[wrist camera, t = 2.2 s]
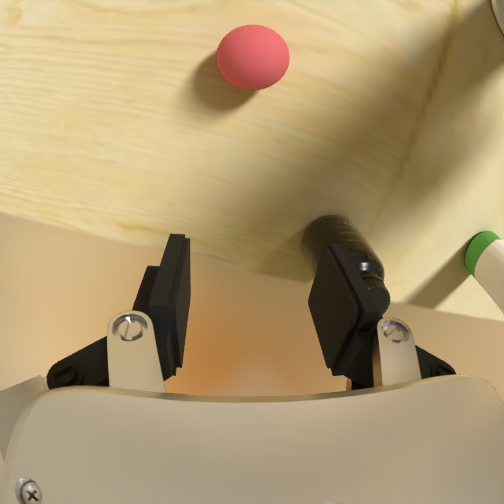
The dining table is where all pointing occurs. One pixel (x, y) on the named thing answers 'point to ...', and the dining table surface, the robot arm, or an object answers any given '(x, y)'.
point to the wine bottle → (488, 264)
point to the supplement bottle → (357, 248)
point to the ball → (252, 57)
